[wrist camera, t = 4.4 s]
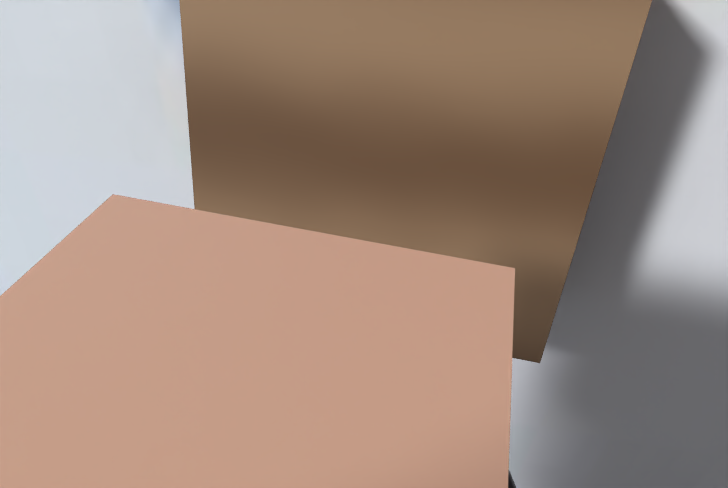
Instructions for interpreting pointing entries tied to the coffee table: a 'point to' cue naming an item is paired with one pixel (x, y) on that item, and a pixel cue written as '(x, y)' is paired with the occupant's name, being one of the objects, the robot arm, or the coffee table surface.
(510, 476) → the robot arm
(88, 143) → the coffee table surface
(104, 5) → the coffee table surface
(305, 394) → the cube
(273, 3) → the base slab
